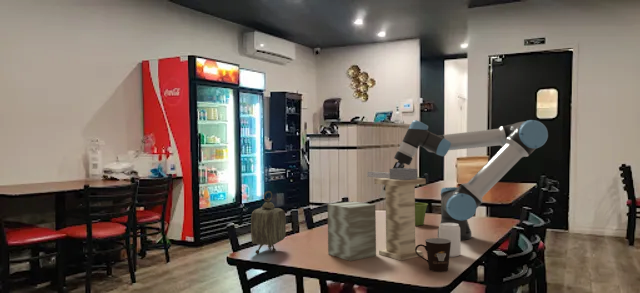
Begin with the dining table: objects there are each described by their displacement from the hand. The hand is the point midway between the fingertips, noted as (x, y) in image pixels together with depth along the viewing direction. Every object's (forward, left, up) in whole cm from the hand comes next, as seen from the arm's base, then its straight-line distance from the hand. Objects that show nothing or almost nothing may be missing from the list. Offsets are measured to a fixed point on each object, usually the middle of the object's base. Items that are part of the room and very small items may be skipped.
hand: (384, 196), depth 200 cm
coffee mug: (-13, +43, -20) cm, 49 cm away
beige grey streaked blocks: (+5, +23, -20) cm, 31 cm away
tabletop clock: (+49, +17, -20) cm, 55 cm away
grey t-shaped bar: (-1, +18, +10) cm, 21 cm away
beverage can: (-23, +23, -20) cm, 39 cm away
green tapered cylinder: (-21, -44, -20) cm, 53 cm away
